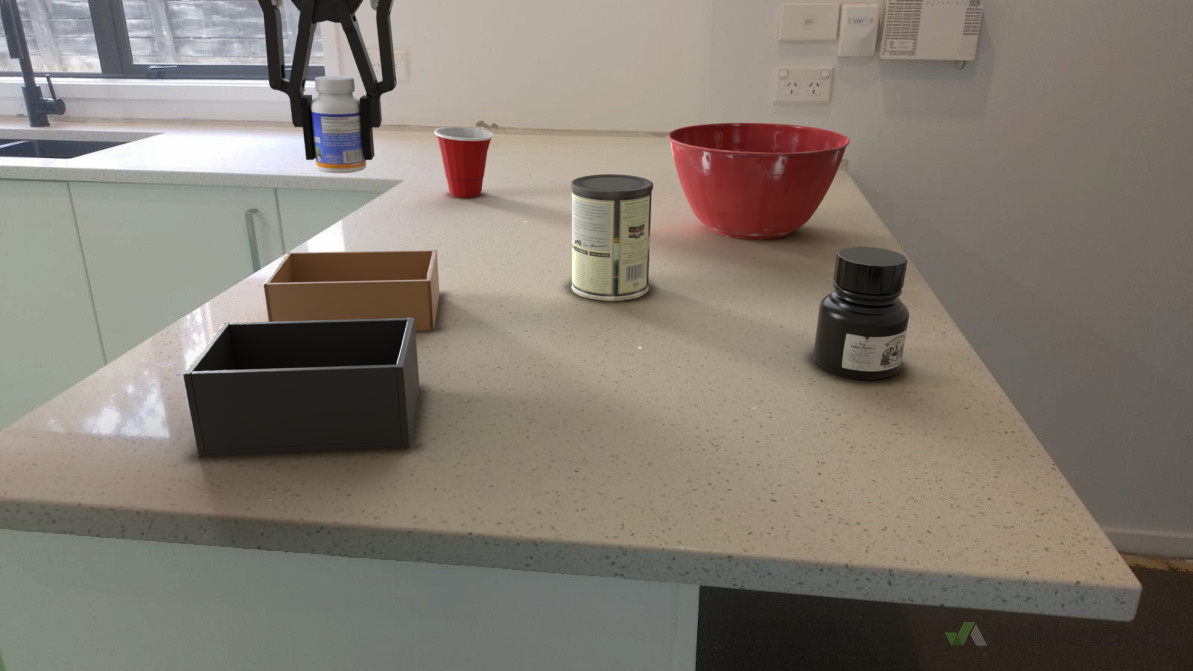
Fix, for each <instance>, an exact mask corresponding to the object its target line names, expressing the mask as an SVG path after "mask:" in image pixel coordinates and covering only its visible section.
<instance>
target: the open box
mask: <svg viewBox="0 0 1193 671" xmlns="http://www.w3.org/2000/svg"><path fill="white" fill-rule="evenodd" d="M416 332H417V331H415V318H388V319H350V320H312V321H275V322H269V321H246V322H245V321H244V322H243V321H241V322H239V321H238V322H223V323H222V325H221V326H220V327H219V329H218V330H217V331H216V332H215V333H214V335H213V336H212V338H210V340H209V341H208V342H207V343H206V345H205V346H204V347H203V348H202V349H201V351H200V352H199V354H198V355H197V356H196V358H195V359H194V360H193V361H192V363H191V364H190V365H189V366H188V368H186V370H185V371H184V373H183V374H182V376H183V382H184V387H185V393H186V395H187V396H186V397H187V402H188V408H189V413H190V418H191V423H192V429H193V434H194V440H195V445H196V450H197V456H198V458H206V457H207V458H208V457H230V456H231V457H234V456H251V455H253V456H254V455H255V456H256V455H276V454H277V455H278V454H299V453H320V452H321V453H322V452H339V451H340V452H344V451H345V452H346V451H347V452H348V451H365V450H366V451H368V450H391V449H408V448H410V447H411V441H412V437H413V431H414V425H415V418H416V412H417V408H418V402H419V396H420V391H421V388H420V376H419V375H420V374H419V361H418V348H417V347H418V346H417V334H416Z"/></svg>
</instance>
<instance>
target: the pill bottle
mask: <svg viewBox="0 0 1193 671" xmlns="http://www.w3.org/2000/svg"><path fill="white" fill-rule="evenodd" d="M314 89H315V92H317V95H318V96H317V97H314V98H312V101H311V104H310V109H311V120H312V130H313V141H314V151H315V159H314V161H315V167H316V169H317V170H318V171H319V172H321V173H327V174H353V173H357V172H362V171H364V170H365V169H366V168H367V160H364V148H363V135H362V123H361V110H360V98H357V97H354V92H355V91H356V90H355V89H356V86H355V79H354V78H353V77H351V76H343V75H325V76H316V77H315V78H314Z"/></svg>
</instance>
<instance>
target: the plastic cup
mask: <svg viewBox="0 0 1193 671" xmlns="http://www.w3.org/2000/svg"><path fill="white" fill-rule="evenodd" d="M433 133H434V135H435V136H436V139H437V143H438V147H439V150H440V156H441V160H442V166H443V171H444V175H445V178H446V183H447V186H448V188H447V189H448V192H449V195H450V196H451V197H453V198H459V199H470V198H477V197H479V196H482V195H481V194H482V190H483V183H484V177H485V172H486V165H487V157H488V151H489V149H490V148H489V147H490V144H491V141H492V139H493V138H494V136H495V135H494V133H493V132H492V131H489V130H485V129H481V128H477V127H466V126H443V127H437V128H435V129H434V130H433Z"/></svg>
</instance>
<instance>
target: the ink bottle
mask: <svg viewBox="0 0 1193 671" xmlns="http://www.w3.org/2000/svg"><path fill="white" fill-rule="evenodd" d="M834 265H835V266H834V272H833V283H832V286H833V290H832V291H831V292H830V293H829V294H827V295H825V296H824V297H823V298H822V299H821V301H820V304H819V308H818V315H817V323H816V331H815V339H814V347H813V359H814V361H815V363H816V364H817V365H819V366H820V367H821V368H823V369H824V370H827V371H828V372H831V373H833V374H835V375H837V376H841V377H845V378H849V379H854V380H864V381H866V380H868V381H869V380H879V379H885V378H889V377H891V376H893V375H895V374H897V373H898V372H899V371H900V369H901V366H902V361H903V356H904V351H905V350H904V349H905V345H906V339H907V333H908V327H909V326H908V325H909V320H910V312H909V309H908V308H907V306H906V304H905V303H904V302H903V301H902V300H901V298H900V296H901V295H902V294H903V288H904V284H905V278H906V272H907V266H908V259H907V257H906V255H903V254H902V253H900V252H898V251H895V250H891V249H888V248H881V247H875V246H862V245H861V246H848V247H844V248H840V249H839V250H838V251H837V252H836V258H835V264H834Z"/></svg>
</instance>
